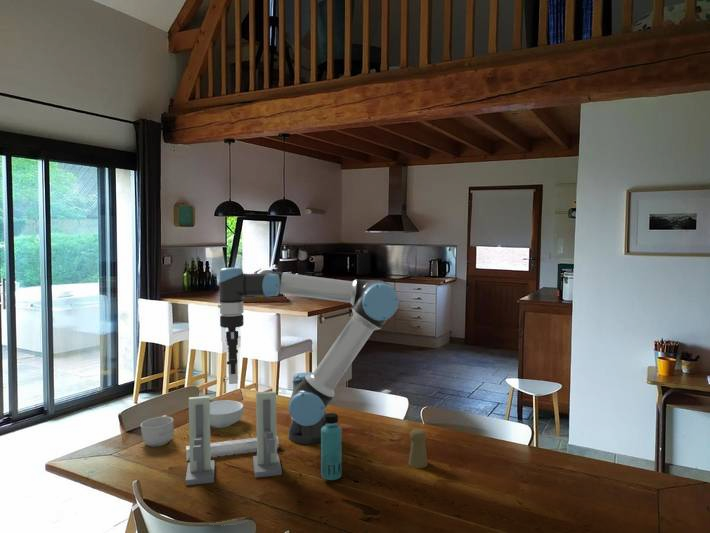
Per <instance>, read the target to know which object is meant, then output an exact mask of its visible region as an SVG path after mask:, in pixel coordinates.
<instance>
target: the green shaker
mask: <svg viewBox="0 0 710 533" xmlns="http://www.w3.org/2000/svg"><path fill="white" fill-rule="evenodd" d="M409 437H410V440H411V442H410V449H409V450H410V451H409V458H408V465H409V466H410V467H411V468H415V469H424V468H426V467H427V466H428V458H427V449H426V442H425V441H426V439H427V433H426V431H425V429H422V428H413V429H412V430H411V431H410V433H409Z"/></svg>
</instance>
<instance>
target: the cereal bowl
mask: <svg viewBox="0 0 710 533" xmlns="http://www.w3.org/2000/svg"><path fill="white" fill-rule="evenodd" d="M243 414H244V404H243V403H242V402H240V401H236V400H229V399H228V400H226V399H223V400H221V399H220V400H214V401H210V428H214V429H223V428H224V429H225V428H228V427H230V426H231V425H234V424H235V423H237V422H239V421H240V420H241V419H242V417H243Z"/></svg>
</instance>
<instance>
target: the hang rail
mask: <svg viewBox="0 0 710 533" xmlns="http://www.w3.org/2000/svg"><path fill="white" fill-rule="evenodd" d="M210 446H211V457H212V458H218V457H217V456H220V457H225V455H227V456H233V454H235V455H241V454H242V453H243V454H249V452H250V453H257V452H256V451H257V437H250V438H249V437H248V438H242V439H233V440H225V441H218V442H210ZM185 450H186V451H185V455H186V456H185V457H186V458H185V459H186V460H185V461H186V462H188V461H189V462H190V445H186V446H185ZM277 450H279V436H278V435H277Z"/></svg>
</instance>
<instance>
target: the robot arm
mask: <svg viewBox="0 0 710 533" xmlns="http://www.w3.org/2000/svg"><path fill="white" fill-rule="evenodd" d="M218 280H219V281H218V285H219V304H218V305H217V308H218V309H219V310H220V311H219V314H221V315H220V316H219V325H220V327H221V328H224V329H227V330H226V331H225V338H226V346H228V347H227V352H228V354H227V355H228V356H227V357H228V361H226V365H228V384H229V385H234V384H238V383H239V382H238V379H239V378H238V377H239V376H238V373H239V372H238V362H239V361H238V354H239V350H238V349H237V348H238V345H239V340H238V339H239V331H238V330H236V329H237V328H241V327H243V326H244V324H245V322H244V321H245V320H244V315H243V314H244V297H267V298H269V297H276V296H279V295H289V296H296V297H303V298H310V299H311V298H313V299H321V300H325V301H326V300H328V301H334V302H342V303H349V304H351V305H352V308H351V310H352V316H351V318H350V319H349V320H348V322H347V323H346V325H345V327H344V328H343V329H342V331H341V332H340V333H339V335H338V337H337V338H336V340H335V341H334V342H333V343H332V345H331V347H330V348H329V350H328V351H327V352H326V354H325V355H324V357H323V359H322V360H321V361H320V362H319V363H318V365H317V367H316V369H315V370H314V372H311V371H310V372H309V371H308V372H299V373H295V374H294V375H293V376H292V381H291V382H292V392H291V397H290V399H289V401H288V402H289V403H288V414H289V415H290V417H291V422H290V424H289V428H288V439H289V440H290V441H291V442H294V443H297V444H300V445H301V444H302V445H312V444H313V445H314V444H321V428H322V427H323V426H324V425H326V424H328V423H325V422H324V418H325V414H326V408H327V407H328V406H329V404H330V402H332V400H333V398H334V397H335V391H334V389H335V388H336V386H337V384H338V383H339V381H340V380H341V379H342V378H343V376H344V374H345V373H346V371H347V370H348V369H349V368H350V367H351V365H352V363H353V361H354V360H355V359H356V357H357V356H358V354H359V353H360V351H361V350H362V348H363V347H364V346H365V344H366V342H367V341H368V340H369V339H370V336H371V335H372V334H373V332H374V331H378V330H380V329H382V327H383V326H384V324H386V322H387V320H389V319H391V317H392V316H393V315H394V314H395V313H396V312H397V310H398V306H399V296H398V294H397V290H395V289H394V288H393V287H392V285H390V284H389V283H387V282H386V281H384V280H381V279H357V278H356V279H354V280H352V281H351V280H344V279H343V280H342V279H335V278H327V277H320V276H319V277H318V276H311V275H304V274H303V275H302V274H297V273H296V274H295V273H288V272H287V273H286V272H280V271H279V272H278V271H274V270H269V269H265V270H262V271H261V272H259V273H244V271H243V268H241V267H222V268H220V270H219V279H218Z"/></svg>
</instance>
